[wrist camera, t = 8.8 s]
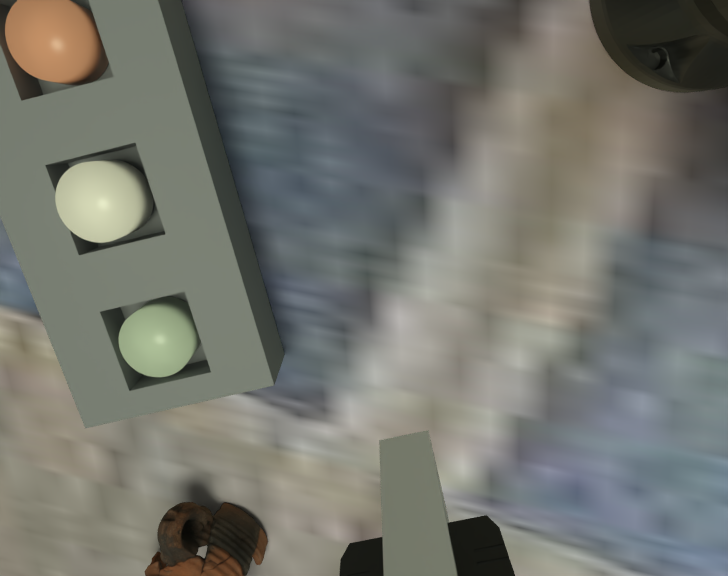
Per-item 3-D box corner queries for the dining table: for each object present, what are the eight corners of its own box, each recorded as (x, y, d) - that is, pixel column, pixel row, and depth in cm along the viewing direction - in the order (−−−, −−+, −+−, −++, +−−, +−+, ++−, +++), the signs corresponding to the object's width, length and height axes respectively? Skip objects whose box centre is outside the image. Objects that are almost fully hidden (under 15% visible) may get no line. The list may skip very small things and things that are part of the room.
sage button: (191, 289, 41) (178, 300, 39) (211, 352, 43) (201, 368, 40) (125, 305, 42) (108, 317, 39) (147, 367, 43) (132, 384, 40)
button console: (166, -51, 39) (132, -84, 33) (284, 354, 46) (274, 385, 40) (-29, 1, 39) (-96, -23, 34) (118, 392, 47) (85, 428, 41)
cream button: (139, 151, 38) (121, 152, 35) (163, 225, 39) (147, 232, 36) (67, 169, 38) (43, 172, 35) (93, 242, 39) (72, 250, 36)
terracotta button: (94, -6, 36) (72, -19, 34) (121, 75, 38) (101, 70, 35) (20, 13, 37) (-8, 3, 34) (49, 93, 38) (23, 90, 35)
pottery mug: (290, 561, 52) (244, 657, 46) (210, 545, 56) (158, 631, 50) (235, 472, 46) (174, 568, 40) (151, 462, 50) (84, 548, 44)
